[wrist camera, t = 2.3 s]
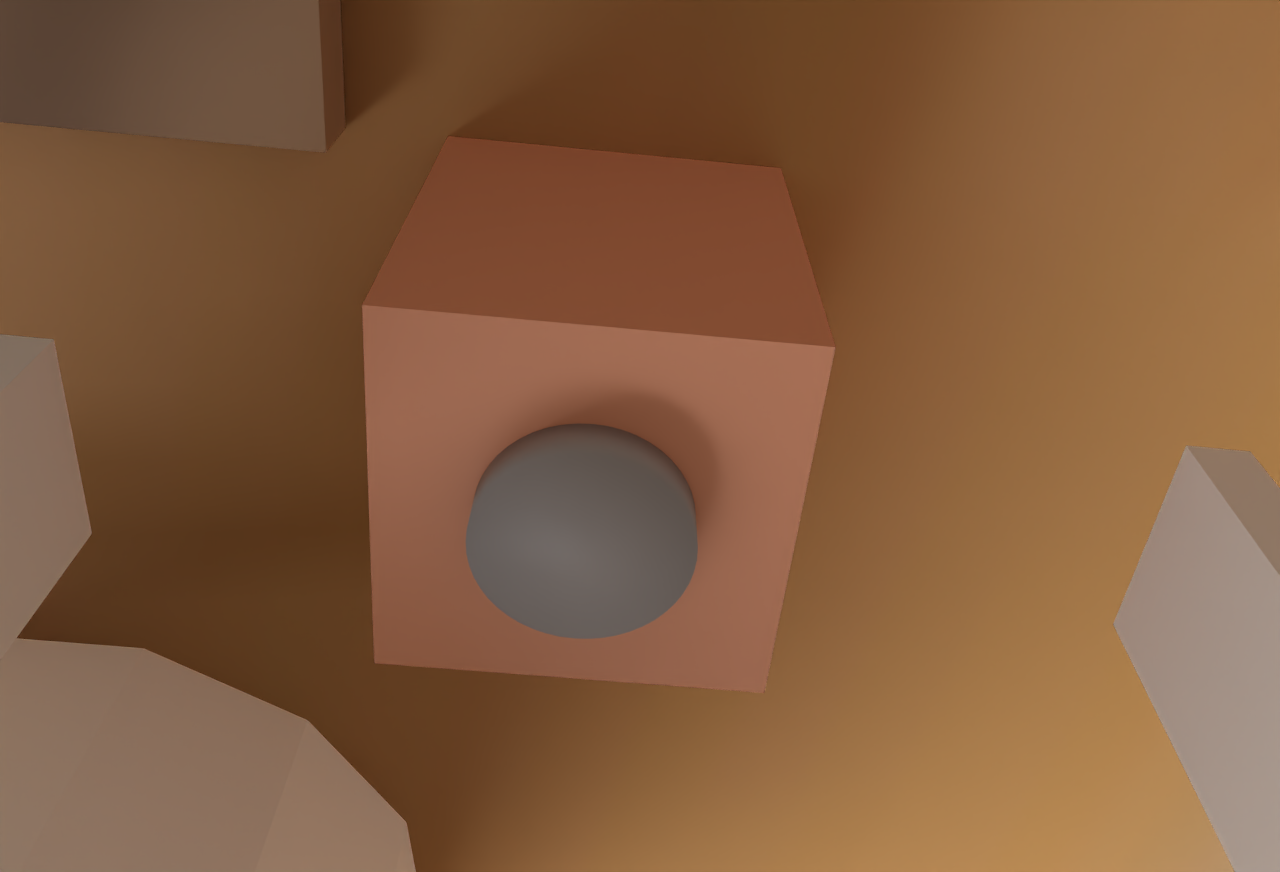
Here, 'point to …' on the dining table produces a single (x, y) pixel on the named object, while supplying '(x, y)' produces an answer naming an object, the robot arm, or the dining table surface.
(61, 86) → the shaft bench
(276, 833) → the container
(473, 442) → the joint block
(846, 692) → the dining table surface
